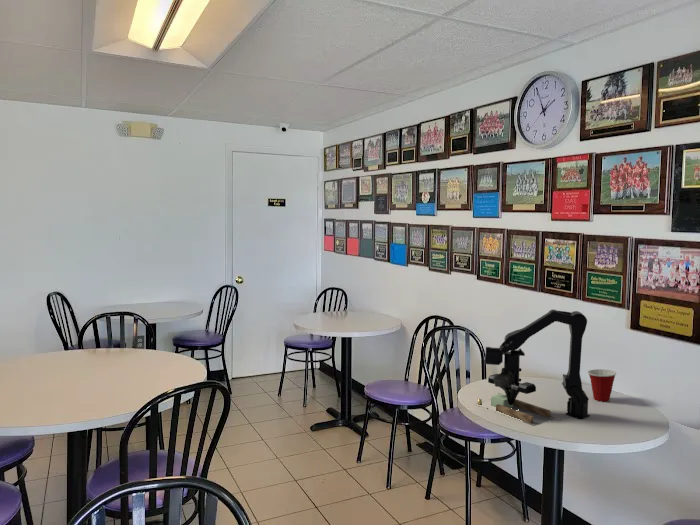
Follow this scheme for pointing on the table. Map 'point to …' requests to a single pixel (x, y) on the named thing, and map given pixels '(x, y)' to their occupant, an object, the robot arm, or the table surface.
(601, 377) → the plastic cup
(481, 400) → the brass pegs
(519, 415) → the walnut channel
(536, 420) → the charcoal runway
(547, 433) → the table surface
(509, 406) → the sage block
